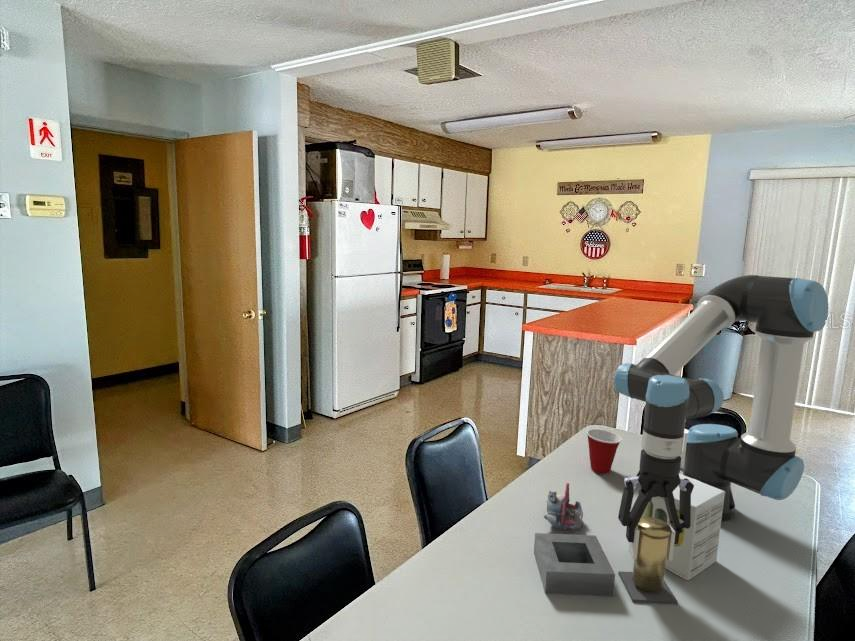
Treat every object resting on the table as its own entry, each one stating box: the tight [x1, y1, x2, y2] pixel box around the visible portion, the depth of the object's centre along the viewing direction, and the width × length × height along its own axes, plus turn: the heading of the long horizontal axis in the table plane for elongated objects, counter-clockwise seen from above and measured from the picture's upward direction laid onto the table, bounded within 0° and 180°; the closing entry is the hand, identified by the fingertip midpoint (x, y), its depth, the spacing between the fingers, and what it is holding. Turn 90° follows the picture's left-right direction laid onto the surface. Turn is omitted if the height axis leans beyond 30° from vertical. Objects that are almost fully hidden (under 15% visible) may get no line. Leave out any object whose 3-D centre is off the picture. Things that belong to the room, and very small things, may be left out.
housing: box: [533, 532, 616, 597], centre depth 115 cm, size 14×14×5 cm
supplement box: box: [642, 473, 725, 581], centre depth 121 cm, size 13×13×18 cm
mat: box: [618, 570, 679, 605], centre depth 111 cm, size 9×9×1 cm
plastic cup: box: [586, 428, 623, 475], centre depth 166 cm, size 11×11×12 cm
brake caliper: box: [543, 482, 584, 531], centre depth 136 cm, size 11×11×12 cm
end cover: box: [632, 517, 671, 591], centre depth 110 cm, size 7×7×13 cm
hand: (650, 555), depth 110 cm, fingers closed on end cover, 7 cm apart
